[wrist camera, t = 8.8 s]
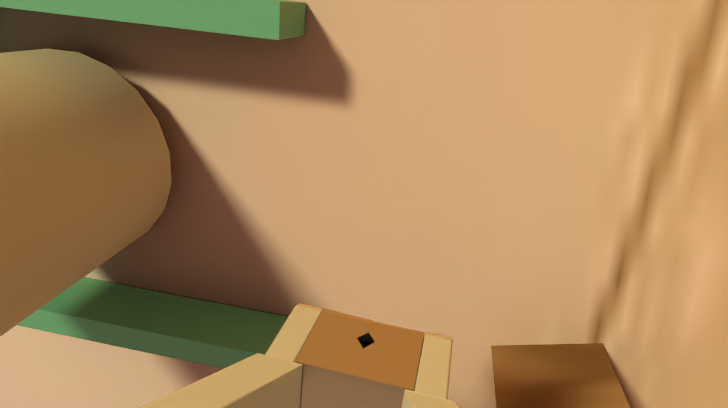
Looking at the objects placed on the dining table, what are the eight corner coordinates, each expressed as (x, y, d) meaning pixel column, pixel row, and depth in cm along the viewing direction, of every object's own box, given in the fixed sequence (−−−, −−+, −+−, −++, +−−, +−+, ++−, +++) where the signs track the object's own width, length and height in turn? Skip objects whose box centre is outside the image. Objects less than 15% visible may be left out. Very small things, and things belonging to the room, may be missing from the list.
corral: (306, 2, 16) (280, 1, 13) (289, 337, 21) (268, 378, 18) (-52, -36, 17) (-129, -43, 15) (13, 282, 22) (-39, 313, 20)
